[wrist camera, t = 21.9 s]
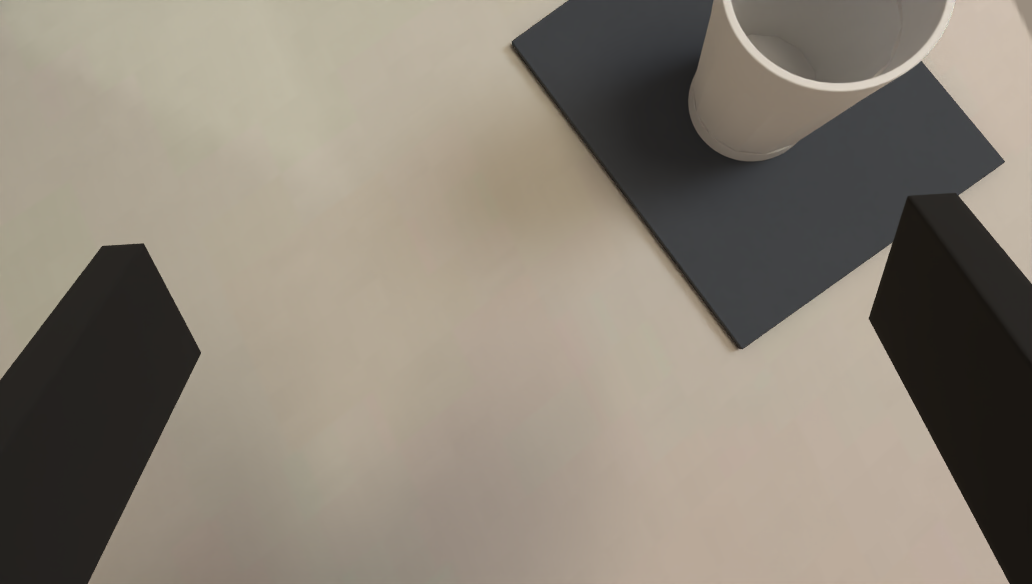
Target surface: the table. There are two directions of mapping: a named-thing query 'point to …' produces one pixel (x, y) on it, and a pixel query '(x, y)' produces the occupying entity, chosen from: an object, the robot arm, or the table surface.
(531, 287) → the table surface
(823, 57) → the cup
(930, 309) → the robot arm
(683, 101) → the mat
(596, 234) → the table surface
